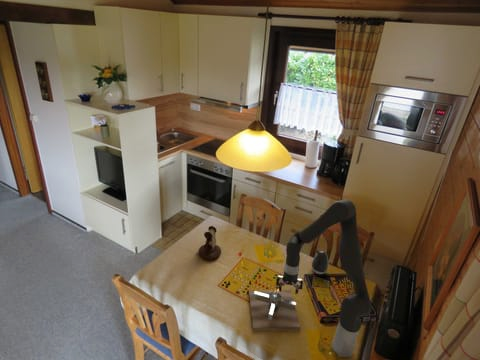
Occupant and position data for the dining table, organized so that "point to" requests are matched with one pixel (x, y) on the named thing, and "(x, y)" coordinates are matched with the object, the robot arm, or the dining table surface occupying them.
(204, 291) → the dining table surface
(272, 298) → the capstan
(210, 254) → the dark brown tall figurine
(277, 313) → the level stand
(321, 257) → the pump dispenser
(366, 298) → the robot arm
